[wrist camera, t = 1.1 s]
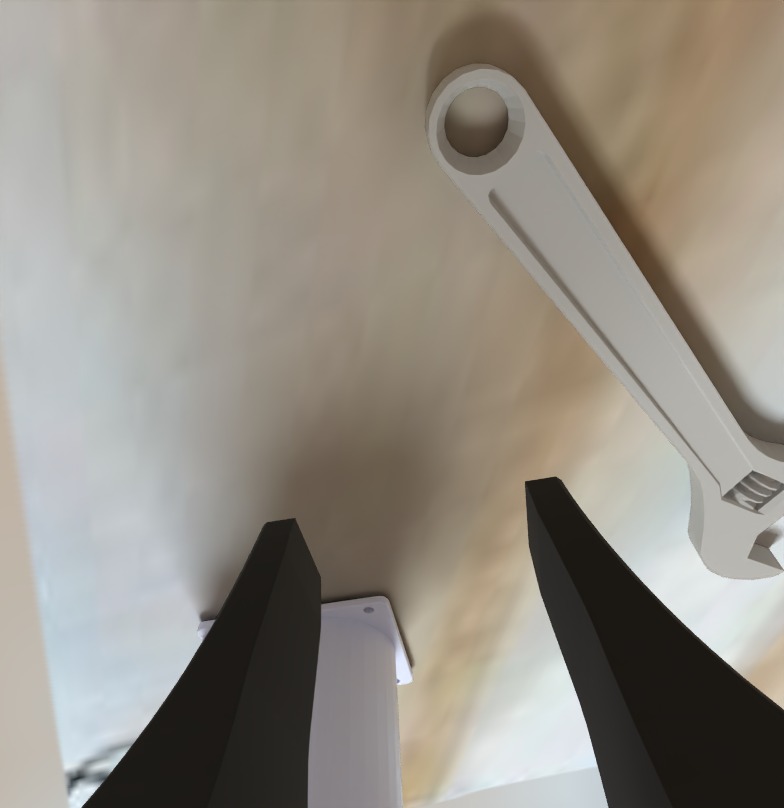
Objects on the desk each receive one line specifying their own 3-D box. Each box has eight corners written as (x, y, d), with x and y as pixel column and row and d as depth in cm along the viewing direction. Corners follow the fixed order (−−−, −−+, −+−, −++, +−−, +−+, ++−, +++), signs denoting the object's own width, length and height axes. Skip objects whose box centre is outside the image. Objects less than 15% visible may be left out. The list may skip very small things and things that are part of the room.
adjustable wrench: (397, 110, 15) (401, 125, 14) (623, -79, 13) (655, -85, 12) (707, 564, 28) (725, 596, 26) (848, 506, 26) (877, 537, 24)
